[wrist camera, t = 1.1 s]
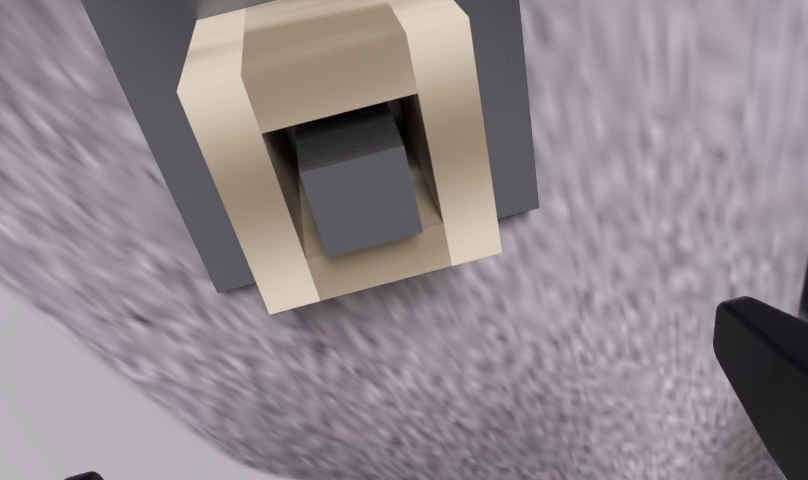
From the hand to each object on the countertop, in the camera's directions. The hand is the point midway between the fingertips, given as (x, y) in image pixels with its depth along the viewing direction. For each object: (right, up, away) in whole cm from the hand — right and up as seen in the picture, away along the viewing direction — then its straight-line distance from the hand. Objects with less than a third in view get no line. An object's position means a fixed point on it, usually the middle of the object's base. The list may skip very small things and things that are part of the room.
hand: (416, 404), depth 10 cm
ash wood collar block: (-2, +6, +10) cm, 12 cm away
